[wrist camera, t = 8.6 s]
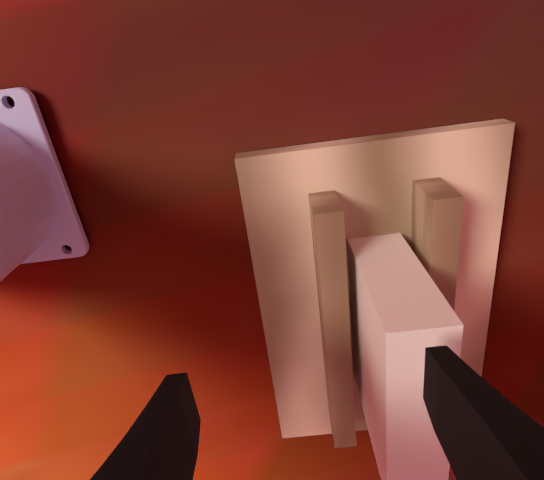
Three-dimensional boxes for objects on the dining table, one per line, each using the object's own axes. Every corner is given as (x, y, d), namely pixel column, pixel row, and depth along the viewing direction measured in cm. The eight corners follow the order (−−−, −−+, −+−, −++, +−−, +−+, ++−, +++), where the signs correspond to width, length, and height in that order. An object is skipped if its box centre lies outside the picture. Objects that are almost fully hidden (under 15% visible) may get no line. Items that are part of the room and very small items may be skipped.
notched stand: (281, 425, 27) (283, 476, 23) (236, 153, 19) (229, 176, 16) (468, 406, 26) (496, 456, 23) (502, 118, 18) (551, 135, 15)
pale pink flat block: (354, 378, 24) (386, 501, 17) (347, 238, 20) (385, 333, 13) (399, 373, 23) (447, 496, 17) (401, 232, 19) (464, 324, 13)
